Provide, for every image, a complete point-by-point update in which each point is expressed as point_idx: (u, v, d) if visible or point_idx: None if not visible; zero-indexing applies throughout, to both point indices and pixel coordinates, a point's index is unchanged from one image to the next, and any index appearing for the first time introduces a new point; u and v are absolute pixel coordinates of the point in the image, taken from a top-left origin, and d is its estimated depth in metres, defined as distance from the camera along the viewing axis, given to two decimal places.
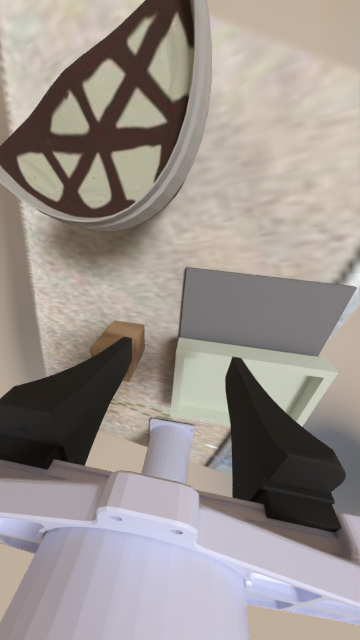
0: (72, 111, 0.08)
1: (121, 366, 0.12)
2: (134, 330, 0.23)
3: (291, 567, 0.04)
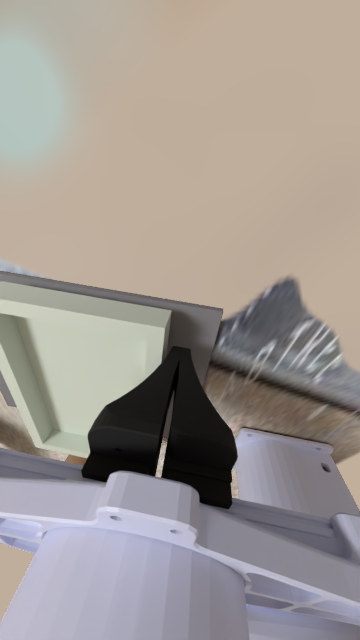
0: None
1: (176, 376, 0.12)
2: None
3: (291, 567, 0.04)
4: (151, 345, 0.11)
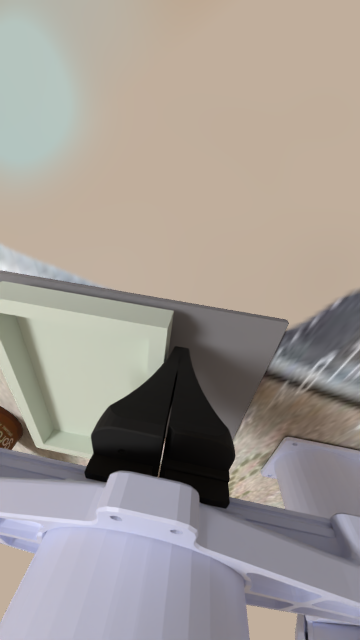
0: None
1: None
2: None
3: (291, 567, 0.04)
4: (153, 345, 0.11)
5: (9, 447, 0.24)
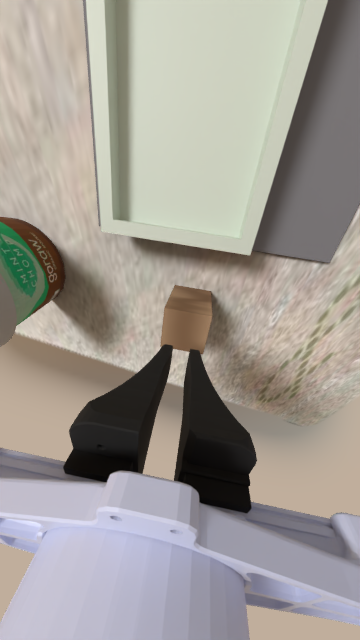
0: None
1: (165, 375, 0.12)
2: None
3: (291, 567, 0.04)
4: None
5: (53, 283, 0.20)
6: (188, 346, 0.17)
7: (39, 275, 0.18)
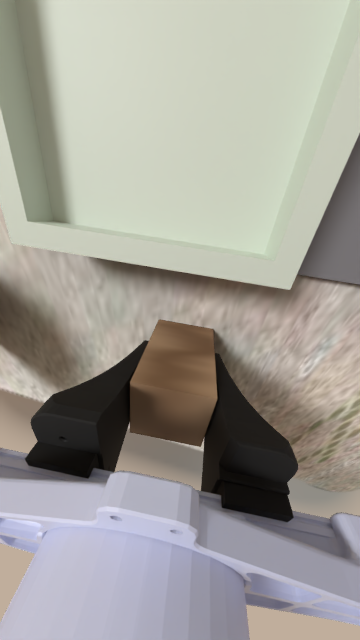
0: None
1: None
2: None
3: (291, 567, 0.04)
4: None
5: None
6: (176, 435, 0.10)
7: None
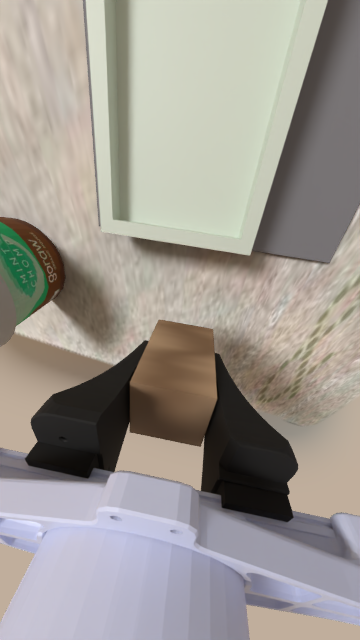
0: None
1: None
2: None
3: (291, 567, 0.04)
4: None
5: (52, 283, 0.20)
6: (176, 435, 0.10)
7: (39, 275, 0.18)
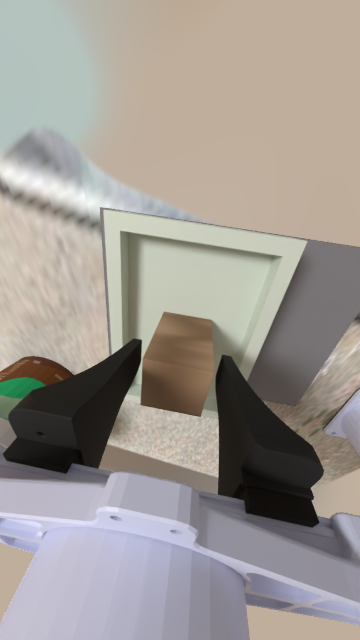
0: None
1: (132, 368, 0.12)
2: None
3: (291, 567, 0.04)
4: (285, 263, 0.11)
5: None
6: (179, 406, 0.12)
7: None
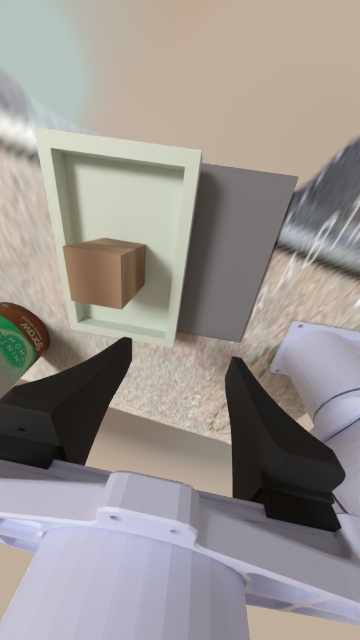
0: None
1: (121, 366, 0.12)
2: None
3: (291, 567, 0.04)
4: (188, 173, 0.13)
5: (39, 350, 0.26)
6: (103, 299, 0.14)
7: (28, 350, 0.24)
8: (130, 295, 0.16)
